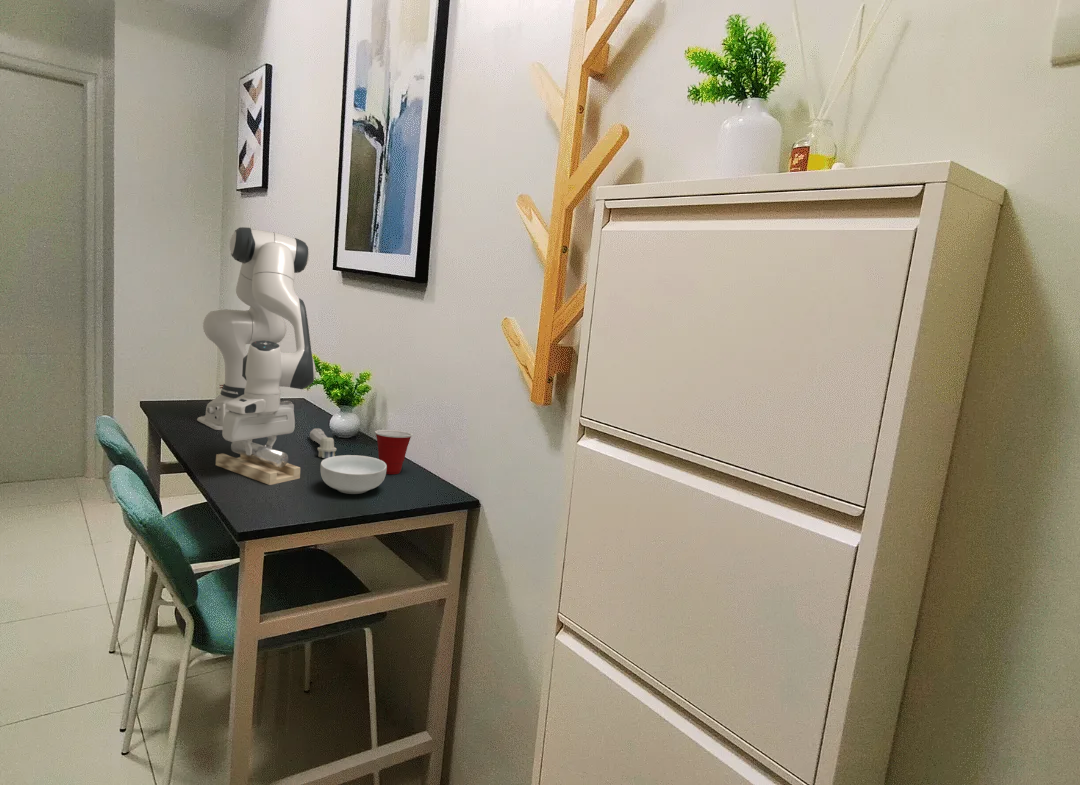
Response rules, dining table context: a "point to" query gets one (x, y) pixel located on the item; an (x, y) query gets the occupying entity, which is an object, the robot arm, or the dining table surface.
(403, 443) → the plastic cup
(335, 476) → the cereal bowl
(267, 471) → the v block
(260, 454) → the axle
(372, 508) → the dining table surface
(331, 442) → the toothbrush head
